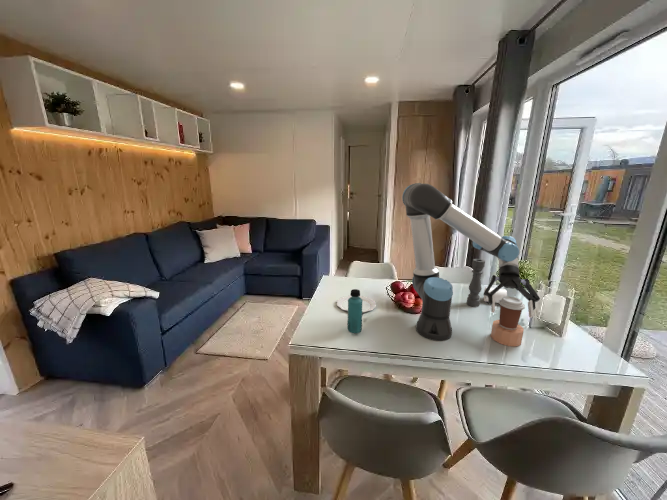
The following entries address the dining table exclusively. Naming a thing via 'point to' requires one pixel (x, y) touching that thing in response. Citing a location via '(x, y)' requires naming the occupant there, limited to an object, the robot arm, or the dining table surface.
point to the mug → (496, 294)
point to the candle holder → (475, 283)
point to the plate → (370, 301)
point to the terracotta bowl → (506, 334)
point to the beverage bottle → (355, 312)
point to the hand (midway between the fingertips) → (512, 314)
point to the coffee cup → (510, 312)
